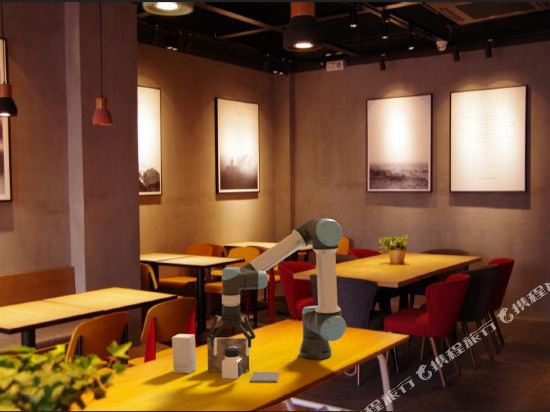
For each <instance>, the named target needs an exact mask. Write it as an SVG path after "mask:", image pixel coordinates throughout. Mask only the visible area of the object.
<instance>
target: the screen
mask: <svg viewBox="0 0 550 412" xmlns="http://www.w3.org/2000/svg"><path fill="white" fill-rule="evenodd" d="M216 338H217V354H216V355H214V347H212V346H211V339H210V338H207V339H206V340H207V347H206V348H207V349H206V350H207V372H208V373H216V372H217V371H218V372H219V371H221V372H222V361H223V360H224V359H225V349H226V348H228V347H237V348H239V357H242V365H243V373H248V372H249V371H250V354H249V355H248V356H246V340H247V338H246V337H216Z"/></svg>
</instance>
